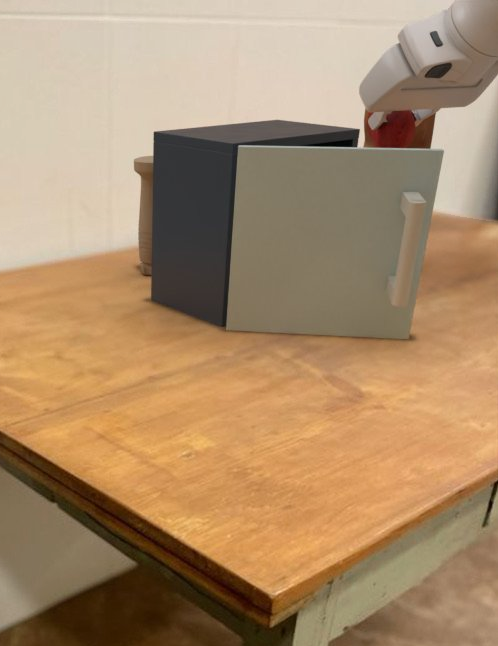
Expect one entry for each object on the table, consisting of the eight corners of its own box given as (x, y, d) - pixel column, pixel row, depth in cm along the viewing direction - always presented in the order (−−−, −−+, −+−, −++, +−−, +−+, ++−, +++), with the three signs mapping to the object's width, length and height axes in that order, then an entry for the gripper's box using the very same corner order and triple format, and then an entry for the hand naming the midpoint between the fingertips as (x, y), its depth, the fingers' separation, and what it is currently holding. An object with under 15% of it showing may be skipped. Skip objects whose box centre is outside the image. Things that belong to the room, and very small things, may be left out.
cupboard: (336, 301, 104) (360, 129, 93) (221, 333, 93) (233, 143, 83) (263, 279, 113) (277, 119, 102) (150, 306, 102) (153, 131, 92)
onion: (401, 163, 113) (411, 99, 109) (362, 160, 116) (370, 97, 112) (416, 158, 117) (426, 95, 113) (377, 154, 120) (386, 94, 116)
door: (414, 363, 85) (455, 158, 74) (222, 353, 88) (235, 154, 77) (406, 341, 90) (442, 148, 80) (226, 332, 93) (238, 145, 83)
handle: (175, 269, 117) (178, 156, 109) (160, 281, 112) (162, 163, 104) (144, 266, 119) (145, 154, 111) (127, 277, 114) (127, 161, 106)
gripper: (506, 25, 107) (433, 102, 120) (394, 25, 99) (328, 108, 111) (527, 65, 106) (451, 139, 119) (415, 68, 98) (346, 147, 110)
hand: (391, 124), depth 115 cm, fingers closed on onion, 6 cm apart
